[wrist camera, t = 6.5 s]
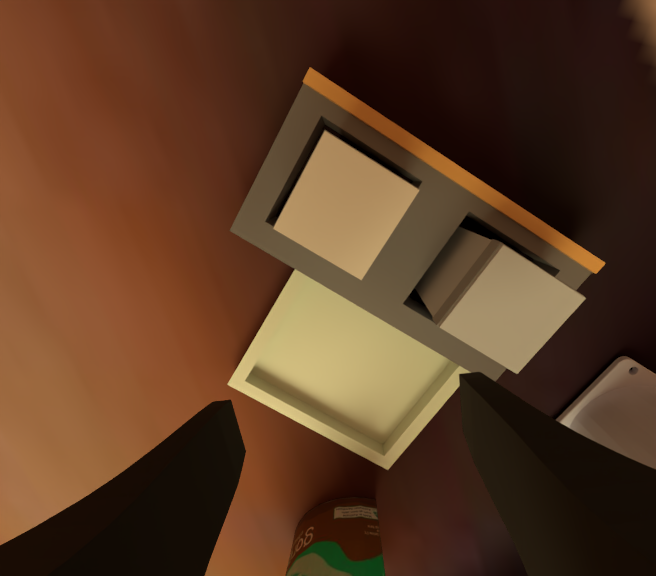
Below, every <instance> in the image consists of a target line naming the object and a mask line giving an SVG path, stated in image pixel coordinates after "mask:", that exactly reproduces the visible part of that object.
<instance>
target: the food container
mask: <svg viewBox="0 0 656 576" xmlns="http://www.w3.org/2000/svg"><path fill="white" fill-rule="evenodd" d="M286 576H385V569H384V561H383V553H382V546H381V538H380V530H379V522H378V514H377V506H376V500H375V499H368V498H362V497H353V498H338V499H335V500H332V501H328V502H325V503H322V504H319V505H318V506H317V507H315V508H314V509H312V510H311V511H309V512H308V513H306V514H305V515H304V517H303V518H302V520H301V521H300V522H299V524H298V526H297V528H296V531H295V536H294V540H293V545H292V549H291V554H290V558H289V562H288V567H287V571H286Z"/></svg>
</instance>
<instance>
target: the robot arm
mask: <svg viewBox="0 0 656 576" xmlns="http://www.w3.org/2000/svg"><path fill="white" fill-rule="evenodd" d="M632 367H633V368H632ZM630 368H632V370H630ZM629 370H630V371H629ZM459 383H460V397H461V412H462V426H463V432H464V435H465V438H466V441H467V444H468V447H469V450H470V452H471V455H472V458H473V460H474V463H475V465H476V467H477V469H478V471H479V473H480V475H481V477H482V479H483V482H484V484H485V486H486V488H487V490H488V492H489V494H490V496H491V498H492V500H493V502H494V504H495V506H496V508H497V510H498V512H499V514H500V516H501V518H502V520H503V522H504V524H505V526H506V528H507V530H508V532H509V534H510V536H511V538H512V540H513V542H514V544H515V546H516V548H517V551H518V553H519V555H520V557H521V559H522V562H523V564H524V566H525V569H526V571H527V574H528V576H656V374H655V373H653V372H651V371H650V370H648V369H647V368H645V367H643V366H642V365H640V364H639V363H637V362H636V361H634V360H632V359H631V358H629V357H627V356H622V357H619V358H617V359H616V360H615V361H614V362H613V363H612V364H611V365H610V366H609V367H608V368H607V369H606V370H605V371H604V372H603V373H602V374H601V375H600V376H599V377H598V378H597V379H596V380H595V381H594V382H593V383H592V384H591V385H590V386H589V387H588V388H587V389H586V390H585V391H584V392H583V393H582V394H581V395H580V396H579V397H578V398H577V399H576V400H575V401H574V402H573V403H572V404H571V405H570V406H569V407H568V408H567V409H566V410H565V411H564V412H563V413H562V414H561V415H560V416H559V417H558V418H557V419H556V420H554V419H553V418H551V417H549V416H548V415H546V414H544V413H543V412H541V411H539V410H538V409H536V408H534V407H533V406H531V405H530V404H528V403H526V402H525V401H523V400H522V399H520V398H519V397H517V396H516V395H514V394H513V393H511V392H510V391H508V390H507V389H505V388H504V387H502V386H501V385H499V384H498V383H496V382H495V381H493V380H492V379H490V378H489V377H487V376H486V375H484V374H483V373H481V372H472V373H463V374H459ZM245 453H246V450H245V447H244V443H243V440H242V436H241V433H240V429H239V426H238V422H237V419H236V416H235V412H234V409H233V405H232V402H231V400H224V401H215V402H212V403H211V404H209V405H208V406H206V407H205V408H204V409H202V410H201V411H200V412H198V413H197V414H196V415H195V416H193V417H192V418H191V419H190V420H188V421H187V422H186V423H185V424H184V425H182V426H181V427H180V428H179V429H177V430H176V431H175V432H174V433H172V434H171V435H170V436H169V437H168V438H166V439H165V440H164V441H163V442H161V443H160V444H159V445H158V446H156V447H155V448H154V449H152V450H151V451H150V452H148V453H147V454H146V455H144V456H143V457H142V458H140V459H139V460H138V461H137V462H135V463H134V464H133V465H131V466H130V467H129V468H127V469H126V470H125V471H123V472H122V473H120V474H119V475H118V476H116V477H115V478H113V479H112V480H110V481H109V482H107V483H106V484H104V485H103V486H101V487H100V488H98V489H97V490H95V491H94V492H92V493H91V494H89V495H88V496H86V497H85V498H83V499H81V500H80V501H78V502H76V503H75V504H73V505H71V506H70V507H68V508H66V509H65V510H63V511H61V512H59V513H58V514H56V515H54V516H53V517H51V518H49V519H48V520H46V521H44V522H43V523H41V524H39V525H37V526H36V527H34V528H32V529H30V530H28V531H27V532H25V533H23V534H21V535H19V536H17V537H15V538H14V539H12V540H10V541H8V542H6V543H4V544H2V545H0V576H204V575H205V572H206V570H207V567H208V564H209V561H210V558H211V555H212V553H213V550H214V547H215V545H216V542H217V539H218V537H219V534H220V531H221V529H222V526H223V524H224V521H225V518H226V516H227V513H228V510H229V508H230V505H231V502H232V499H233V497H234V494H235V491H236V488H237V486H238V483H239V479H240V475H241V471H242V467H243V462H244V457H245Z"/></svg>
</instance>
